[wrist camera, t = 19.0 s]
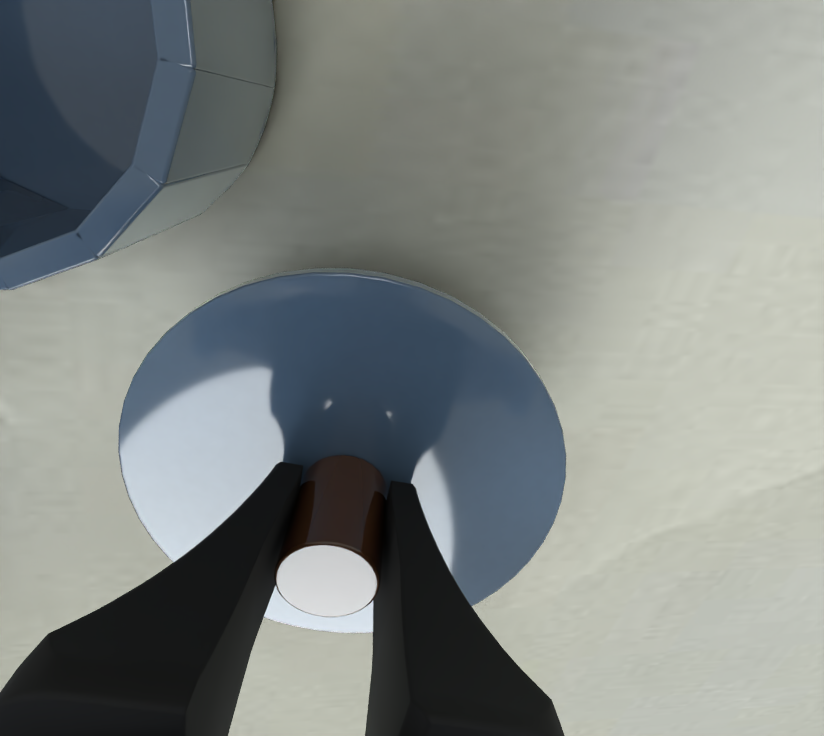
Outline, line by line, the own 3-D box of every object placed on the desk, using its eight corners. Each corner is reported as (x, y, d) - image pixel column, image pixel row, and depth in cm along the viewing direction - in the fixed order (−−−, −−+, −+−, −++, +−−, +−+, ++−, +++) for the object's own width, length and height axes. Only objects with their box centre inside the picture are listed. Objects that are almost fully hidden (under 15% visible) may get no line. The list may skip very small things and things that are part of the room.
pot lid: (434, 644, 19) (439, 780, 15) (97, 531, 16) (0, 659, 12) (644, 384, 14) (734, 487, 10) (208, 167, 11) (104, 190, 8)
